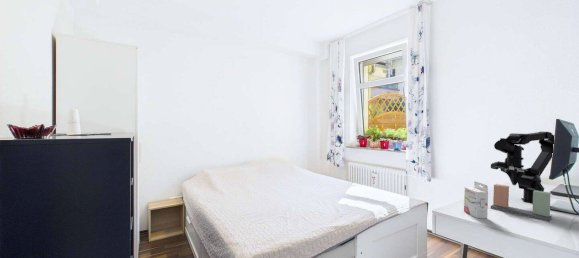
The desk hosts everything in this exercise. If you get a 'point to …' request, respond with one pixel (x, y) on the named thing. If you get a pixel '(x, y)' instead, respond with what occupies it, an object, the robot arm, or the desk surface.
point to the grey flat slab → (521, 212)
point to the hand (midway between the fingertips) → (514, 185)
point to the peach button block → (501, 195)
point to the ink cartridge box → (476, 200)
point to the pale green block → (541, 203)
